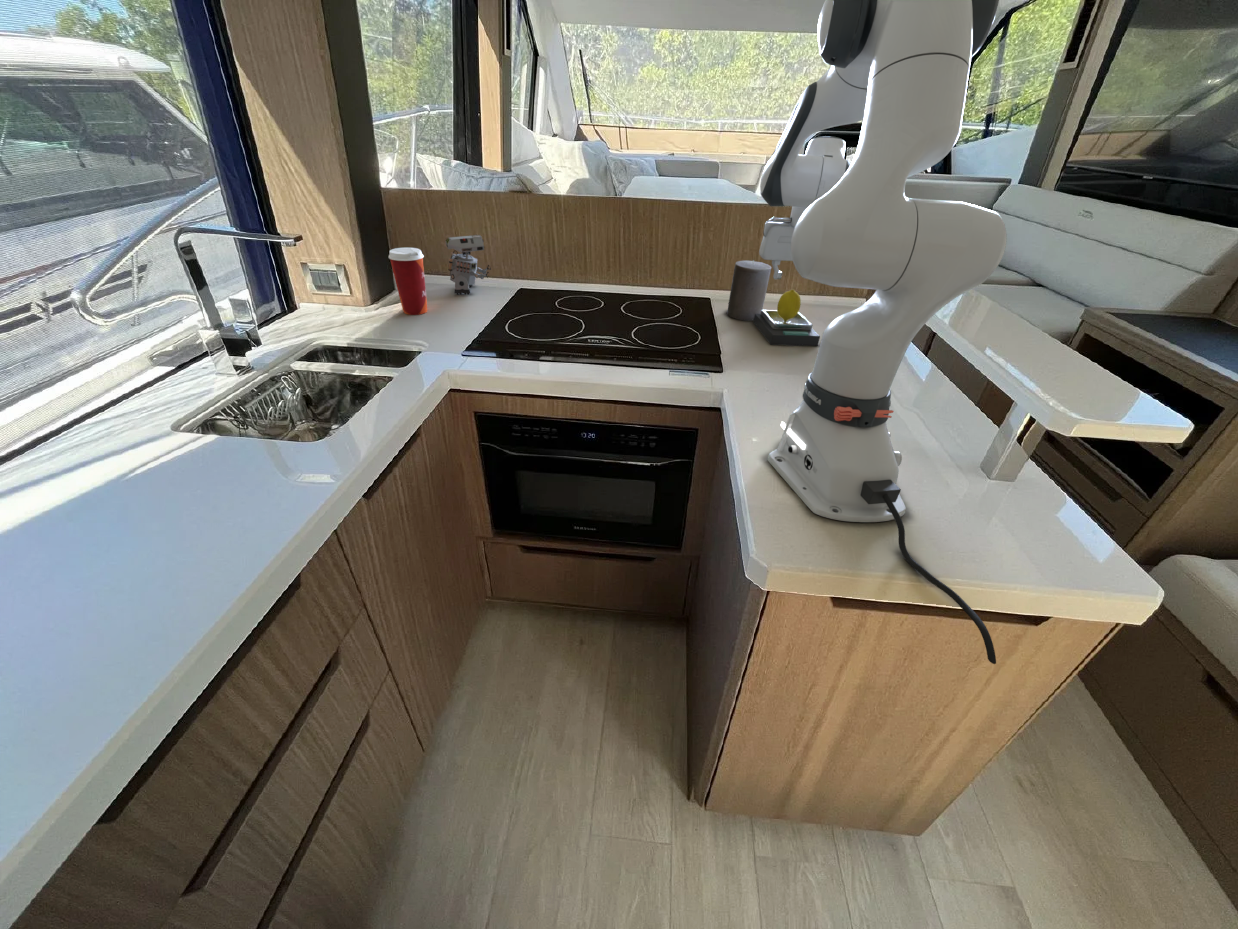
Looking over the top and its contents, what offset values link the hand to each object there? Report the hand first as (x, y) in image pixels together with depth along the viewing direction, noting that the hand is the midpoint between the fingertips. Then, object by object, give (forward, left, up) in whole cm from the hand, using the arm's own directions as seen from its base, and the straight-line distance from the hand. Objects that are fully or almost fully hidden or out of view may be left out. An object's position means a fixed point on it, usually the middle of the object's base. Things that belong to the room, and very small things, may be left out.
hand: (795, 279), depth 130 cm
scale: (-1, 0, -14) cm, 14 cm away
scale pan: (0, 0, -11) cm, 11 cm away
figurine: (+28, +85, -14) cm, 91 cm away
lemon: (0, 0, -11) cm, 11 cm away
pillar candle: (+13, +7, -14) cm, 20 cm away
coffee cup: (+8, +96, -14) cm, 97 cm away
